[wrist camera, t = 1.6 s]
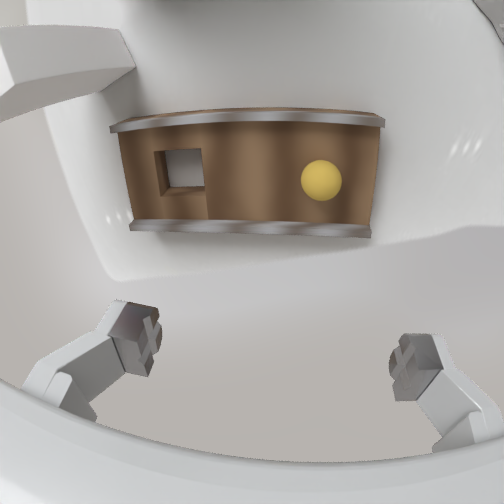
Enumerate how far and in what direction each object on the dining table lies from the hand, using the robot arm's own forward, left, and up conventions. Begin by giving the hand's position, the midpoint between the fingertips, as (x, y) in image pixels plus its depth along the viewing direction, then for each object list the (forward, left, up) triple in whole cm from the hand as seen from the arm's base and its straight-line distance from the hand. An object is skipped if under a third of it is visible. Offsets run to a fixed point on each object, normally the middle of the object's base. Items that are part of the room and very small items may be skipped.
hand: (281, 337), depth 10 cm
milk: (+21, -12, -27) cm, 36 cm away
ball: (-3, +3, -22) cm, 22 cm away
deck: (+5, +3, -27) cm, 28 cm away
